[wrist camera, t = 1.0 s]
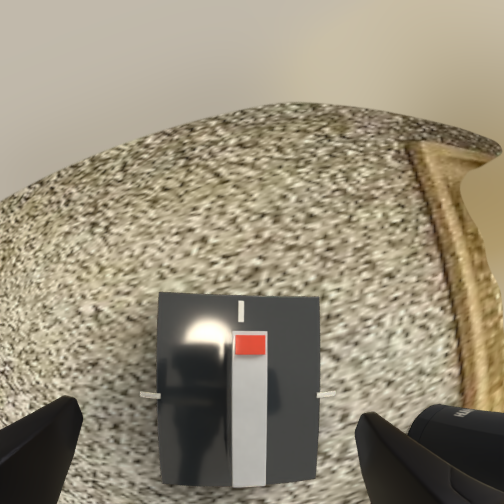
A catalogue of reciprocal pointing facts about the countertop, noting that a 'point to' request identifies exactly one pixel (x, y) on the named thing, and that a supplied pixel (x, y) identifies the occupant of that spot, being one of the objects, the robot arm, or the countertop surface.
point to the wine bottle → (464, 440)
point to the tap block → (215, 384)
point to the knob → (247, 407)
